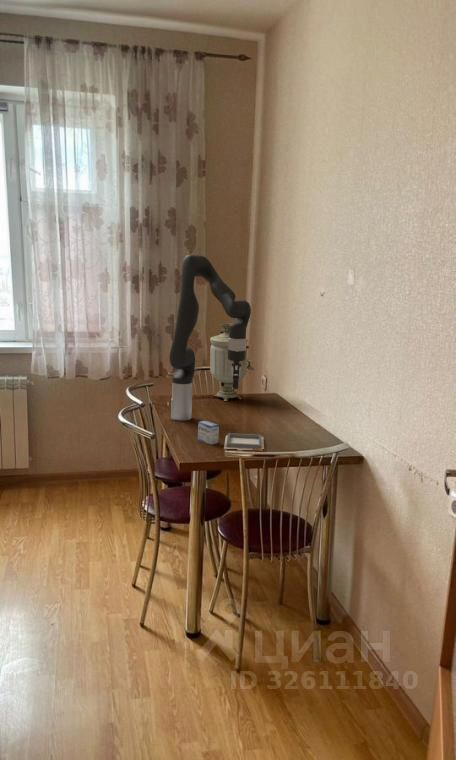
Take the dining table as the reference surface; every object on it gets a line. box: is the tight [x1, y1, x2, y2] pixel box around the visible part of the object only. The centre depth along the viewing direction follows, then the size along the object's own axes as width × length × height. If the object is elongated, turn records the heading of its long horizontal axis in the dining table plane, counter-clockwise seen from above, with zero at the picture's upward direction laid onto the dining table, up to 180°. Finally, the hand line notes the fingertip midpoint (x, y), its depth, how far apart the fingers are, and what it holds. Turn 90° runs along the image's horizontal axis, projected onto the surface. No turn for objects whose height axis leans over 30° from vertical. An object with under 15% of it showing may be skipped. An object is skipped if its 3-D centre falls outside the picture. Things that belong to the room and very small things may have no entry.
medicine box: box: [197, 420, 220, 446], centre depth 250 cm, size 8×4×9 cm, turn 47°
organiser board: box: [223, 432, 265, 451], centre depth 250 cm, size 16×17×3 cm
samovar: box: [209, 322, 255, 402], centre depth 323 cm, size 30×26×40 cm
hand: (235, 386), depth 257 cm, fingers open, 8 cm apart
